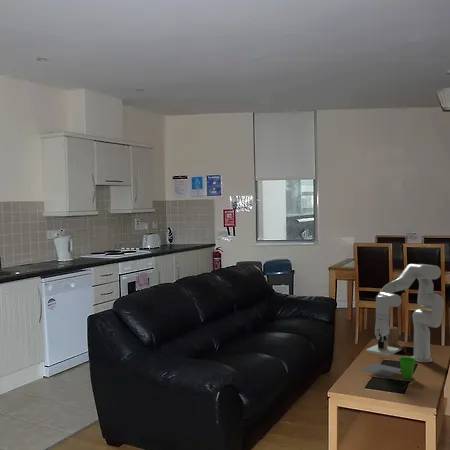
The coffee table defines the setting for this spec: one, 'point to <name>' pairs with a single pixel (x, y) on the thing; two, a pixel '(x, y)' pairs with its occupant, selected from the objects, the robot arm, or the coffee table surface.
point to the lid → (385, 350)
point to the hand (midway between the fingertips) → (382, 347)
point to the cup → (407, 366)
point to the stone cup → (394, 338)
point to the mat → (381, 369)
